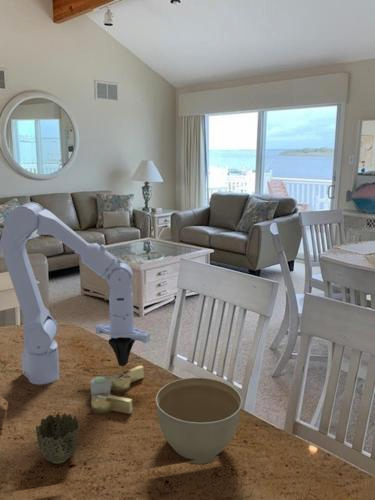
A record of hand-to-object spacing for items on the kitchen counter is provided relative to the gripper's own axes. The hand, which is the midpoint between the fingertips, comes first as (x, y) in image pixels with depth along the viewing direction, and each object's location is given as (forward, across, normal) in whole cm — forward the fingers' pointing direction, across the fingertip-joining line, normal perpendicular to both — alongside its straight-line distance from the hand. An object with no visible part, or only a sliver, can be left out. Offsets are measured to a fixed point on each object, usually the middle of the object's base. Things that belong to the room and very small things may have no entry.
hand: (123, 364), depth 115 cm
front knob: (+3, +7, -15) cm, 16 cm away
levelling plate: (+4, +1, -11) cm, 12 cm away
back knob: (+3, +3, -4) cm, 6 cm away
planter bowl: (+4, +28, -18) cm, 33 cm away
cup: (+4, +7, -32) cm, 33 cm away
